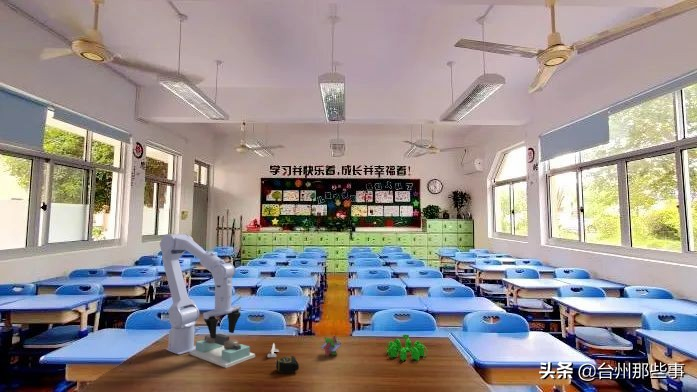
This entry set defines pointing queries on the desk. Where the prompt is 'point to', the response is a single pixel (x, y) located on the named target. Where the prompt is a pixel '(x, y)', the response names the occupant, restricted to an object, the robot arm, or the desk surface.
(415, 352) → the green lumpy cluster
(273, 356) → the white tapered piece
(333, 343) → the geometric puzzle
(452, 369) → the desk surface
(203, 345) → the stand
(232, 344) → the rod with two spheres
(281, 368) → the tape measure
